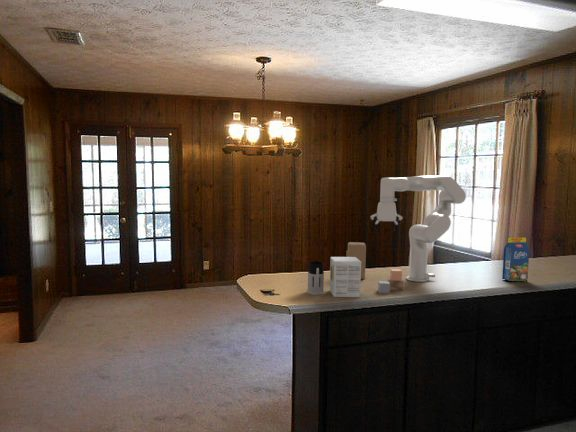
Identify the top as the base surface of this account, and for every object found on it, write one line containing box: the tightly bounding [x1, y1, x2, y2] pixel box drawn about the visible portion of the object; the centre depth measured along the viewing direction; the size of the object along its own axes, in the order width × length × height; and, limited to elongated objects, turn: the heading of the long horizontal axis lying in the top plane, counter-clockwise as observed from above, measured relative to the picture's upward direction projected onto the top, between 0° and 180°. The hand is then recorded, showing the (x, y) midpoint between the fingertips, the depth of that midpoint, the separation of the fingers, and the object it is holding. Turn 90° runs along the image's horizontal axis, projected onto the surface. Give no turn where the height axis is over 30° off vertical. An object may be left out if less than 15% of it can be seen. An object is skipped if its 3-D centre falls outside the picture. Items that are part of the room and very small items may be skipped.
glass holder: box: [306, 260, 325, 296], centre depth 220 cm, size 9×14×15 cm, turn 2°
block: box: [346, 241, 367, 280], centre depth 259 cm, size 10×10×20 cm
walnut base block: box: [387, 277, 404, 291], centre depth 234 cm, size 7×7×5 cm
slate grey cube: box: [377, 280, 391, 294], centre depth 227 cm, size 5×5×5 cm
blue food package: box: [501, 237, 530, 282], centre depth 257 cm, size 6×12×25 cm, turn 104°
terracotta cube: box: [389, 268, 403, 281], centre depth 234 cm, size 5×5×5 cm
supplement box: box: [329, 256, 362, 298], centre depth 221 cm, size 13×13×18 cm
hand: (386, 231), depth 246 cm, fingers open, 9 cm apart
